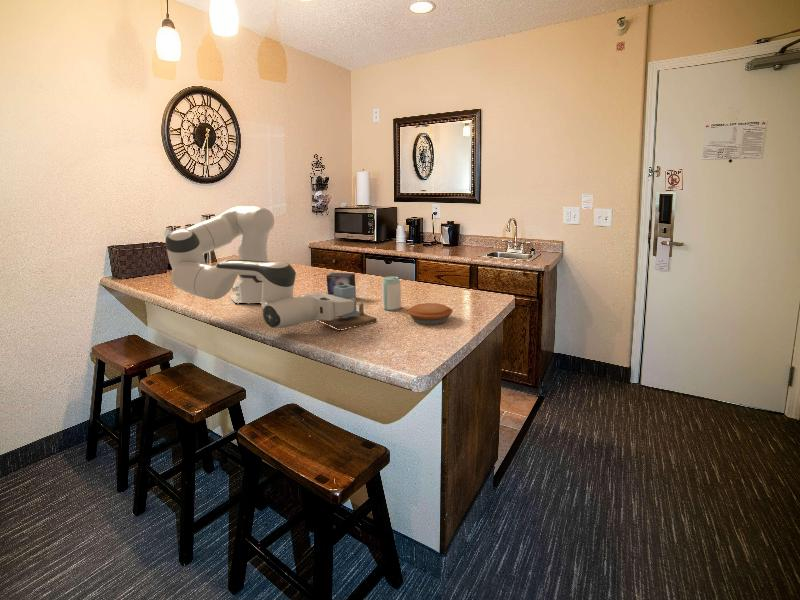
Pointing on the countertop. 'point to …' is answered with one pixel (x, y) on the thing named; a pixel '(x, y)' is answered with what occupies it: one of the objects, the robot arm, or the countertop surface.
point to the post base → (351, 320)
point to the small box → (339, 280)
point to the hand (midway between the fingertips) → (347, 298)
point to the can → (391, 293)
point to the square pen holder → (347, 292)
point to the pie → (430, 313)
